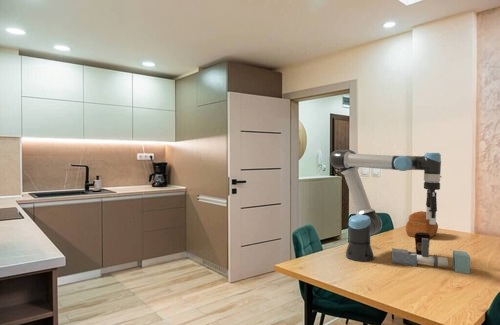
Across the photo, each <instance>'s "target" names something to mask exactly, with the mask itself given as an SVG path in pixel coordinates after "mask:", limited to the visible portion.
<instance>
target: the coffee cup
mask: <svg viewBox="0 0 500 325" xmlns="http://www.w3.org/2000/svg"><path fill="white" fill-rule="evenodd" d="M422 238H427V239H429V242H430V240H431V238H432V237H431V236H430V235H429V234H428V233H423V232H418V233H416V234H415V237H414V242H415V252H416V255H422Z"/></svg>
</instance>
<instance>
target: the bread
mask: <svg viewBox="0 0 500 325" xmlns="http://www.w3.org/2000/svg"><path fill="white" fill-rule="evenodd" d="M438 228H439V225H438V223H437V221H436V225H433V224H430V219H426V211H423V210H421V211H420V210H419V211H416V212H412V214H410V215H409V216H408V221H407V222H406V225H405V232H406V235H407V236H408V237H412V238H415V234H416V233H418V232H423V233H428V234H429V235H430V236H431V237H430V238H432V237H433V236H436V235H437V233H438V231H439V230H438Z"/></svg>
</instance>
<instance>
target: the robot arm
mask: <svg viewBox="0 0 500 325" xmlns="http://www.w3.org/2000/svg"><path fill="white" fill-rule="evenodd" d="M441 157H442V155H441V153H440V152H425V153H424V155H422V156H421V155H420V156H419V155H418V156H417V155H392V154H391V155H390V154H389V155H387V154H386V155H385V154H369V153H356V152H355V151H353V150H351V149H336V150H334V151H332V152H331V153H330V156H329V163H330V165H331V166H332V167H333V168H335V169H339V172H340V174H341V175H343V176H344V178H345V183H346V184H347V187H348V190H349V193H350V196H351V198H352V201H353V202H352V203H353V204H354V207H355V209H356V214H355V215H351V216H350V217H349V219H348V244H347V247H346V250H345V258H347V259H348V260H352V261H355V262H370V261H373V260H374V258H375V257H374V256H375V255H374V252H373V249H372V246H371V236H372V235H373V236H374V235H376V234H379V232H380V231H381V230H382V228H383V221H382V220H383V219H381V217H380V215H377V212H376V210H375V209H374V208H372V206H371V204H370V201H369V198H368V196H367V193H366V189H365V188H364V185H363V182H362V178H361V175H360V174H359V169H360V168H365V169H366V168H367V169H368V168H369V169H377V170H378V169H380V170H391V171H393V170H394V171H400V172H406V171H424V172H423V181H424V182H423V188H424V190H426V201H425V202H426V203H425V205H426V207H425V208H426V211H425V212H426V219H430V224H433V225H436V222H437V211H438V207H437V206H438V204H437V203H438V202H437V191H439V190H440V189H441V183H440V181H441V178H442V175H441V172H442V170H441V166H442V158H441Z"/></svg>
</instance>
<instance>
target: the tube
mask: <svg viewBox="0 0 500 325" xmlns="http://www.w3.org/2000/svg"><path fill="white" fill-rule="evenodd" d="M429 251H430V241H429V239H427V238H422V255H417V264H418V263H419V264H427V265H433V267H438V266H445V267H448V266H449V263H448V262H449V261H448V259H449V258H448V257H440V256H438V255H437V254H434V255H432V256H431V255H429V254H430V252H429ZM411 255H415V254H411Z"/></svg>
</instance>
